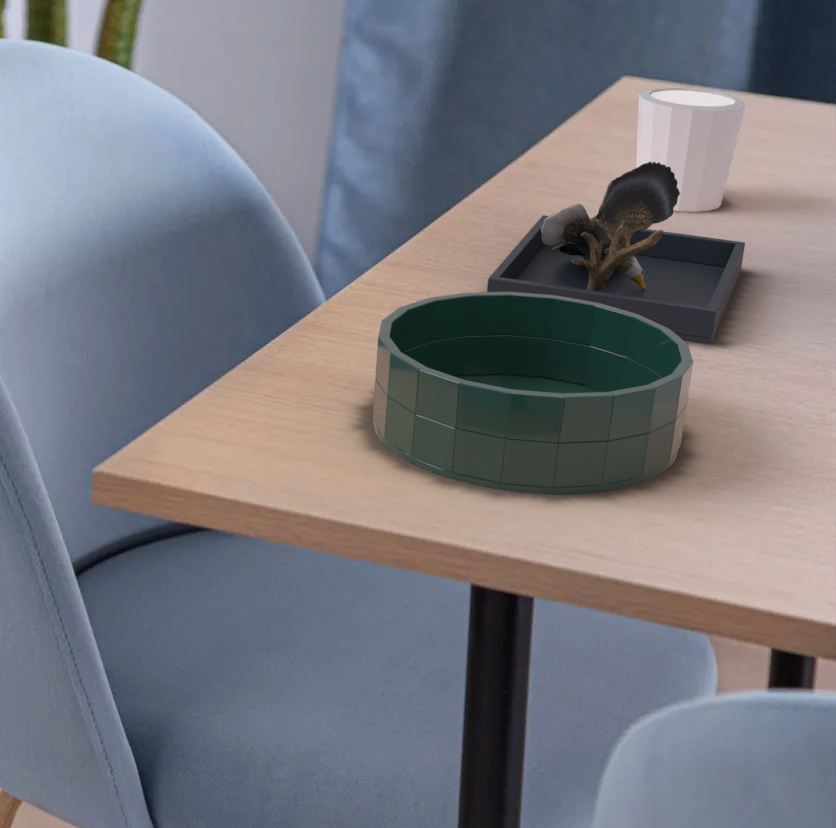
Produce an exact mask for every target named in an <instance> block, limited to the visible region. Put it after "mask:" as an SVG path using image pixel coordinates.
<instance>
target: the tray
mask: <svg viewBox="0 0 836 828" xmlns="http://www.w3.org/2000/svg"><path fill="white" fill-rule="evenodd" d="M549 216H550V215H545V214H543V215H542V216H541V217H540V218H538V220H537V222H535V224H534V225H532V227H531V228H530V229H529V230H528V232H527V233H526V234H525V235H524V237H522V239H521V240H520V241H519V242H518V244H517V245H515V247H514V248H513V249H512V250H511V252H510V253H509V254H507V256H506V257H505V258H504V260H503V261H502V262H501V263H500V264H499V265H498V266H497V268H496V269H495V270H494V271H493V272H492V273H491V275H489V277H488V278H487V287H486V288H487V289H486V292H519V293H532V294H545V295H555V296H562V297H568V298H573V299H579V300H585V301H591V302H596V303H601V304H604V305H608V306H611V307H615V308H618V309H621V310H625V311H628V312H632V313H635V314H638V315H641V316H643V317H645V318H647V319H649V320H651V321H654V322H656V323H658V324H660V325H662V326H664V327H667V328H669V329H670V330H672V331H673V332H674V333H675V334H676V335H677V336H679V337H680V338H681V339H682V340H683V341H685V342H690V343H694V344H695V343H696V344H702V345H710V346H711V345H712V343H713V341H714V338H715V336H716V333H717V331H718V329H719V326H720V323H721V321H722V318H723V317H724V314H725V311H726V309H727V307H728V304H729V301H730V300H731V297H732V294H733V292H734V290H735V287H736V285H737V283H738V280H739V278H740V276H741V272H742V265H743V261H744V253H745V248H746V242H744V241H738V240H729V239H722V238H717V237H716V238H715V237H709V236H708V237H706V236H701V235H700V236H699V235H694V234H693V235H692V234H685V233H678V232H672V231H671V232H670V231H664V230H663V232H664V233H663V235H662V236H661V238H660V239H659V240H658V241H657V243H656V244H655V245H654V246H653V247H651V248H650V249H648V250H646V251H643V252H641V253H638V254H635V255H634V257H635V258H636V260H637V261H638V263H639V265H640V266H641V268H642V269H643V271H644V276H643V280H644V283H645V286H646V289H645V290H643V289H642V288H641V287H640V286H639V285H638V284H637V283H636V282H634V281H632V280H630V279H628V278H627V277H626V276H625V275H624V274H623V273H622V272H620V271H618V270H614V271H613V273H612V275H611V276H610V277H609V280H608V282H607V283H604V287H603V288H602V289H599V290H598V291H591V290H587V287H588V283H589V271H588V270H587V269H585V268H584V267H582V266H577V265H574V264H573V263H572V260H573V259H577V258H581V259H584V257H583V256H580V255H576V256H574V255H568V254H565V253H562V252H560V251H559V250H560V249H556V250H555V251H554V250H553V251H551V249H552V248H553V247H554V246H546V245H545V244H544V242H543V241H542V233H541V228H542V226H543V224H544V221H545V219H546V218H547V217H549ZM656 231H657V230H656V229H649V228H648V229H644V230H641V231H637V232H635V233H634V234H633V235H632V237H631V239H630V246H631V245H634V244H636V243H638V242H640V241H642V240H644V239H646V238H648V237H649V236H650V235H651V234H653V233H654V232H656Z"/></svg>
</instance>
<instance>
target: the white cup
mask: <svg viewBox="0 0 836 828" xmlns="http://www.w3.org/2000/svg"><path fill="white" fill-rule="evenodd" d="M746 106H747V103H746V102H745V101H744V100H743V99H741V98H738V97H736V96H733V95H730V94H727V93H726V94H725V93H721V92H716V91H713V90H712V91H711V90H705V89H697V88H686V87H685V88H684V87H683V88H681V87H666V88H665V87H664V88H652V89H647V90H646V89H645V90H642V91H641V92H640V93H639V94H638V109H637V110H638V111H637V116H638V117H637V136H636V137H637V140H636V161H635V163H636V164H635V165H636V166H635V168H638V167H639V166H641V165H642V164H644V163H648V162H652V163H653V162H656V163H660V164H661V165H665V166H666V167H671V171H672V172H673V173H674V174H675V179H676V180H677V188H678V189H679V192H680V195H679V196H678V200H677V204H676V205H675V207H674V208H673V211H674V212H675V211H677V212H690V213H697V212H709V211H713V210H716V209H719V208H720V206H721V205H722V202H723V197H724V194H725V190H726V186H727V182H728V178H729V174H730V170H731V166H732V162H733V158H734V154H735V151H736V146H737V141H738V138H739V133H740V130H741V126H742V122H743V117H744V114H745V109H746Z"/></svg>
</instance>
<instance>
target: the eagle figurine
mask: <svg viewBox="0 0 836 828" xmlns="http://www.w3.org/2000/svg"><path fill="white" fill-rule="evenodd" d="M679 195H680V192H679V189H678V188H677V180H676V179H675V174H674V173H673V172H672V171H671V167H666V166H665V165H661V164H660V163H656V162H653V163H652V162H648V163H644V164H642V165H641V166H639V167H638V168H636V167H635V168H633V169H632V170H629V171H627V172H625V173H622V174H621V175H620V176H618V177H616V178H615V179H612V180H611V181H610V182H609V183H608V185H607V188H606V190H605V195H603V199H602V201H601V204H600V206H599V208H598V212H597V214H595V216H593V217H592V218H590V216H589V214H588V211H587V210H586V208H585V207H584V205H582V204H580V203H576V204H573V205H572V204H571V205H568V206H566V207H563V208H560V209H559V210H557V211H555V212H552V213H551V214H550V215H548V216H549V217H547V218H546V219H545V221H544V224H543V226H542V228H541V233H542V241H543V242H544V244H545V245H546V246H554V247H553V248H552V249H551V251H553V250H554V251H555V250H556V249H560V250H559V251H560V252H562V253H565V254H568V255H574V256H576V255H580V256H583V257H584V259H581V258H577V259H573V260H572V263H573V264H574V265H577V266H582V267H584V268H585V269H587V270H588V271H589V283H588V287H587V290H591V291H598V290H599V289H602V288H603V287H604V283H607V282H608V280H609V277H610V276H611V275H612V273H613V271H614V270H618V271H620V272H622V273H623V274H624V275H625V276H626V277H627V278H628V279H630V280H632V281H634V282H636V283H637V284H638V285H639V286H640V287H641V288H642V289H643V290H645V289H646V286H645V283H644V280H643V276H644V271H643V269H642V268H641V266H640V265H639V263H638V261H637V260H636V258H635V257H634V255H635V254H638V253H641V252H643V251H646V250H648V249H650V248H651V247H653V246H654V245H655V244H656V243H657V241H658V240H659V239H660V238H661V236H662V235H663V233H664V232H665V231H664V230H663V229H658V230H656V232H654V233H653V234H651V235H650V236H649V237H648V238H646V239H644V240H642V241H640V242H638V243H636V244H634V245H631V246H630V239H631V237H632V235H633V234H634V233H635V232H637V231H641V230H644V229H649V228H650V227H651V226H652V225H654V224H659V223H663V222H665V221H666V220H668V219H670V217H672V216H673V214H674V210H673V208H674V207H675V205H676V204H677V200H678V196H679ZM663 231H664V232H663Z"/></svg>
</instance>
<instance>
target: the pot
mask: <svg viewBox="0 0 836 828" xmlns="http://www.w3.org/2000/svg"><path fill="white" fill-rule="evenodd" d="M376 351H377V352H376V364H375V379H374V390H373V391H374V392H373V404H372V405H373V407H372V424H373V429H374V433H375V434H376V436H377V438H378V440H379V441H380V442H381V443H382V444H383V445H384V446H385V447H386V448H387V449H388V450H390V451H391V452H392V453H393V454H394V455H396V456H397V457H400V458H401V459H402V460H404V461H405V462H407V463H409V464H412V465H414V466H416V467H417V468H420V469H421V470H425V471H427V472H430V473H433V474H435V475H438V476H440V477H444V478H447V479H450V480H454V481H457V482H461V483H465V484H469V485H473V486H477V487H482V488H487V489H494V490H499V491H506V492H515V493H524V494H538V495H580V494H581V495H583V494H593V493H603V492H608V491H615V490H621V489H625V488H628V487H633V486H637V485H640V484H643V483H645V482H648V481H650V480H652V479H654V478H655V477H658V476H660V475H661V474H663V473H664V472H666V471H667V470H668V469H669V468H670V467H671V466H672V465H673V464H674V463H675V461H676V459H677V457H678V453H679V449H680V448H681V445H682V439H683V433H684V432H683V431H684V428H685V427H684V426H685V419H686V412H687V404H688V399H689V394H690V386H691V380H692V372H693V367H694V359H693V355H692V352H691V348H690V345H689V344H688V343H687V341H683V340H682V339H681V338H680V337H679V336H677V335H676V334H675V333H674V332H673V331H672V330H670V329H669V328H667V327H664V326H662V325H660V324H658V323H656V322H654V321H651V320H649V319H647V318H645V317H643V316H641V315H638V314H635V313H632V312H628V311H625V310H621V309H618V308H615V307H611V306H608V305H604V304H601V303H596V302H591V301H585V300H579V299H573V298H568V297H562V296H555V295H545V294H532V293H519V292H487V291H481V292H480V291H479V292H475V291H474V292H462V293H461V292H460V293H455V294H447V295H440V296H433V297H427V298H424V299H421V300H418V301H415V302H412V303H408V304H405V305H402V306H400V307H397V308H396V309H395V310H394V311H392V312H391V313H390V314H388V315H387V316H386V317H384V318H383V319H382V320H381V322H380V326H379V331H378V336H377V348H376Z"/></svg>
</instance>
